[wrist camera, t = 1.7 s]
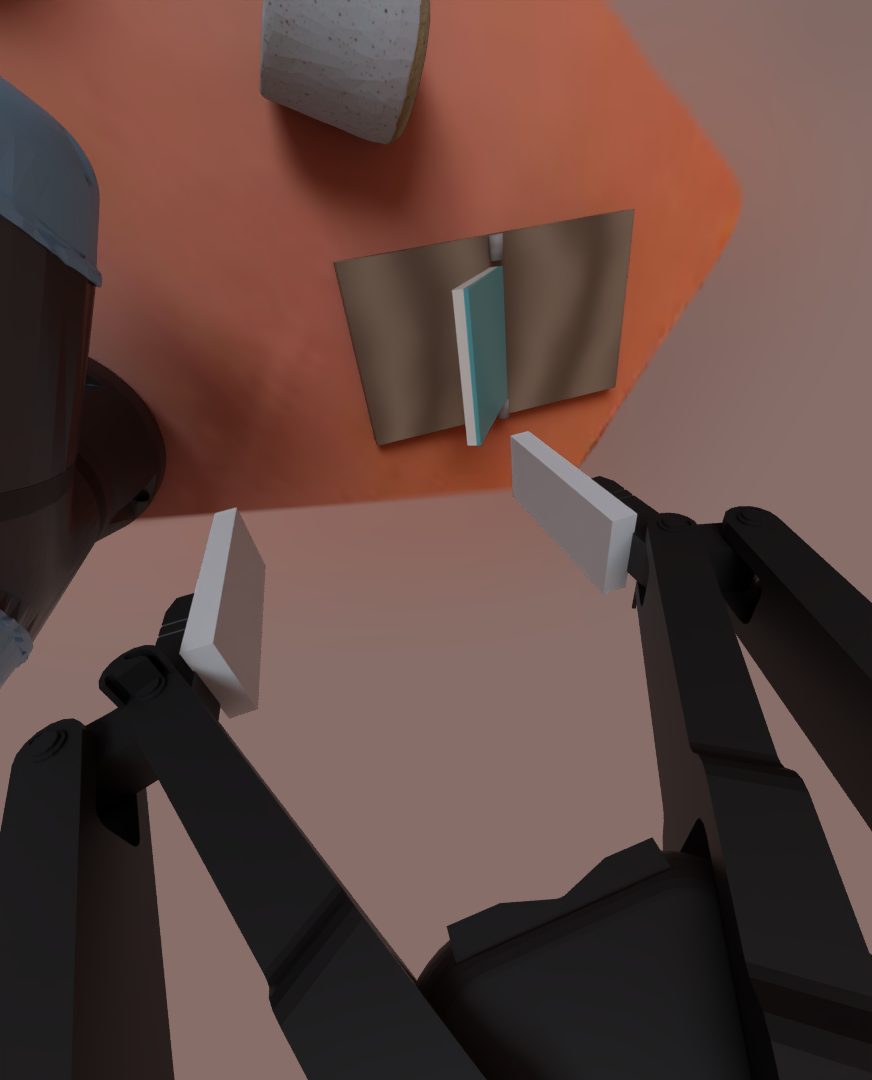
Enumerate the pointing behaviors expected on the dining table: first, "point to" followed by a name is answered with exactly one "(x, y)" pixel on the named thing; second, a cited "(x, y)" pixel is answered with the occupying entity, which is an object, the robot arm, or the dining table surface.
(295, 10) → the ceramic mug
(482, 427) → the tile
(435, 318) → the hinge board
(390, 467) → the dining table surface
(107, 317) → the dining table surface
